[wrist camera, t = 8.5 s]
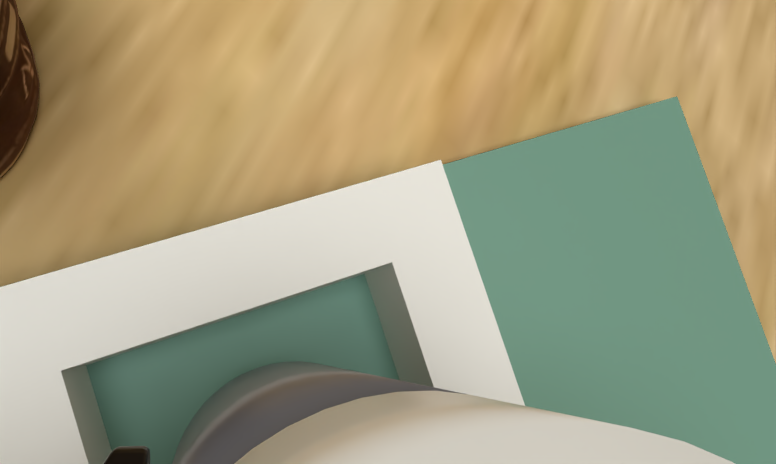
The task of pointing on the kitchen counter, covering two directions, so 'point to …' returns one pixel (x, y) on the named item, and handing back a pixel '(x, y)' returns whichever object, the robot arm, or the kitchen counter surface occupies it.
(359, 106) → the kitchen counter surface
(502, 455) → the dome-topped cylinder
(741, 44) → the kitchen counter surface
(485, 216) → the board
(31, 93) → the coffee cup
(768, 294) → the kitchen counter surface
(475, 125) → the kitchen counter surface
